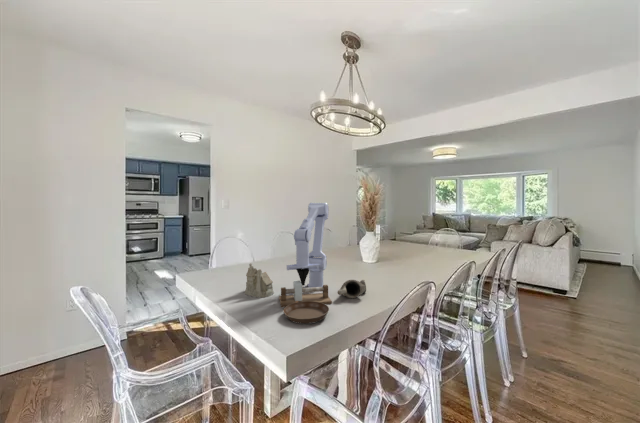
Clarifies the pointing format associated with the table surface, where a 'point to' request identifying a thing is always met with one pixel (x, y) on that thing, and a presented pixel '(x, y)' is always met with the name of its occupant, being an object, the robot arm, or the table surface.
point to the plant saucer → (306, 312)
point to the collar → (297, 290)
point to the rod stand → (305, 295)
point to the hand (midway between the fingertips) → (302, 284)
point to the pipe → (352, 288)
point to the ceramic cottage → (258, 283)
